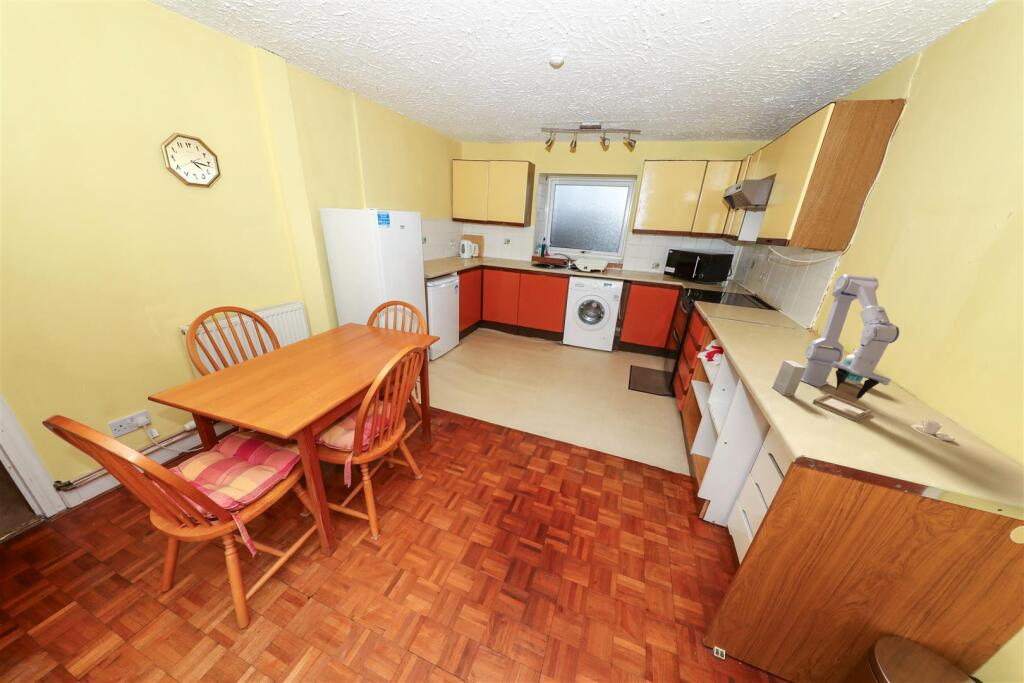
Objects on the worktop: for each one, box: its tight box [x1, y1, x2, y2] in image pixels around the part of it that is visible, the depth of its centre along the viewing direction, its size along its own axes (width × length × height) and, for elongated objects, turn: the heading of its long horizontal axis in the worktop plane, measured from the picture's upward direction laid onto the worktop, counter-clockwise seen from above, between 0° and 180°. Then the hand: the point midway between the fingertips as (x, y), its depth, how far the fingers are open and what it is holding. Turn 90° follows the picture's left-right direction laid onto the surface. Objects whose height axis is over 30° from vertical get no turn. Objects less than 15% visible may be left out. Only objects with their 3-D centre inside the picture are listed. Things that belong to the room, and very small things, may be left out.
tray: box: [812, 393, 872, 422], centre depth 116 cm, size 12×12×2 cm
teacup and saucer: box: [910, 419, 956, 442], centre depth 105 cm, size 9×8×4 cm
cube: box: [833, 381, 863, 403], centre depth 113 cm, size 5×5×5 cm
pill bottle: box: [842, 349, 864, 385], centre depth 136 cm, size 8×7×14 cm
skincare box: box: [771, 359, 806, 397], centre depth 123 cm, size 6×4×12 cm
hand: (848, 393), depth 114 cm, fingers closed on cube, 5 cm apart
